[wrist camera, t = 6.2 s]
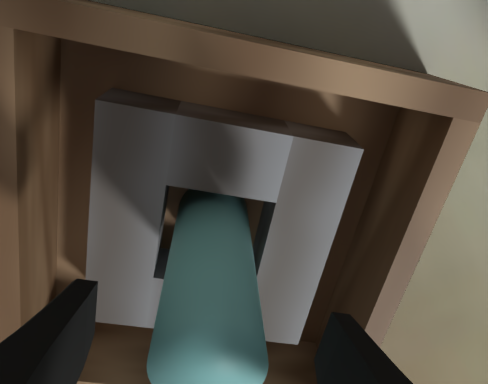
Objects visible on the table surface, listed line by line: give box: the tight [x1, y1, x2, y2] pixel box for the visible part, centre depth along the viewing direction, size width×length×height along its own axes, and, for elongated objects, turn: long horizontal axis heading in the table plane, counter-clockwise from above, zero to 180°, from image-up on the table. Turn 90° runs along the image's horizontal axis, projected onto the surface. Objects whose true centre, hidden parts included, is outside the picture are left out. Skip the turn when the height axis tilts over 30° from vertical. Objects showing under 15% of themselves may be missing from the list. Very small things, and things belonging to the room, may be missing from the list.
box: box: [0, 0, 488, 384], centre depth 17 cm, size 16×16×4 cm
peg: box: [147, 189, 269, 384], centre depth 15 cm, size 3×3×9 cm
